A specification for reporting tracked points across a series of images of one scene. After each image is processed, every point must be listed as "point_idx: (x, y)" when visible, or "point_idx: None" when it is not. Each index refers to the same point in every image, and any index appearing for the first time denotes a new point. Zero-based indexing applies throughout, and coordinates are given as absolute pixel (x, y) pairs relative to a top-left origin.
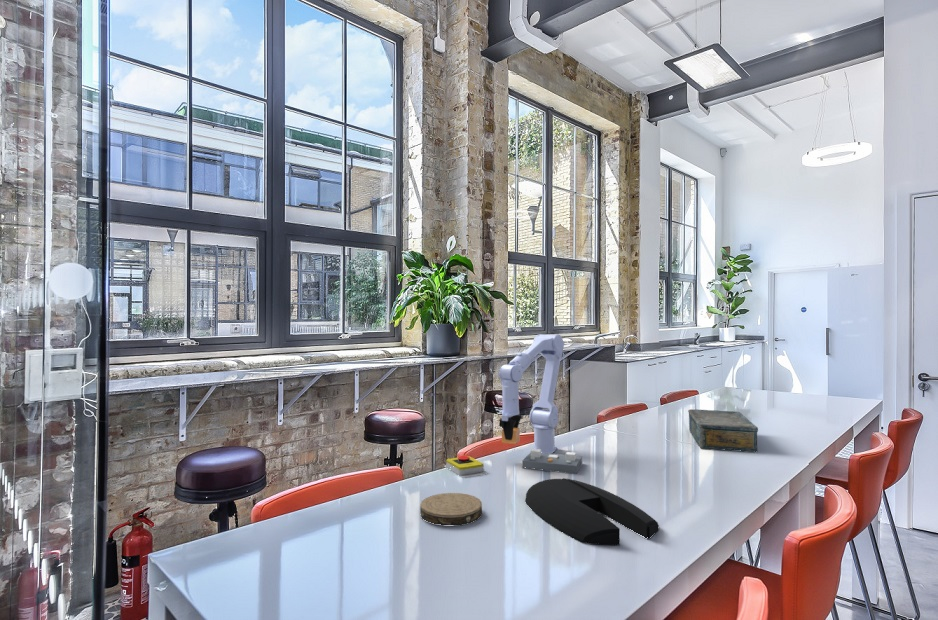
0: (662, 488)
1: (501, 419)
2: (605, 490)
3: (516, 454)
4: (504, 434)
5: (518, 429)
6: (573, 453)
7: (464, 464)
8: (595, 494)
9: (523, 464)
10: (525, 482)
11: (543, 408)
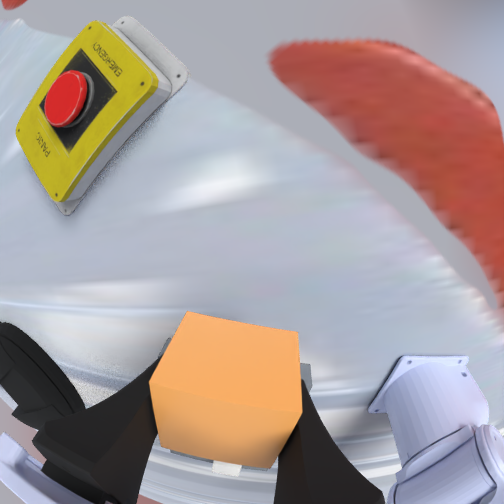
0: (156, 481)
1: (48, 455)
2: None
3: (382, 305)
4: (143, 372)
5: (239, 460)
6: (227, 473)
7: (38, 127)
8: (26, 412)
9: (163, 350)
10: (59, 333)
11: (485, 496)
